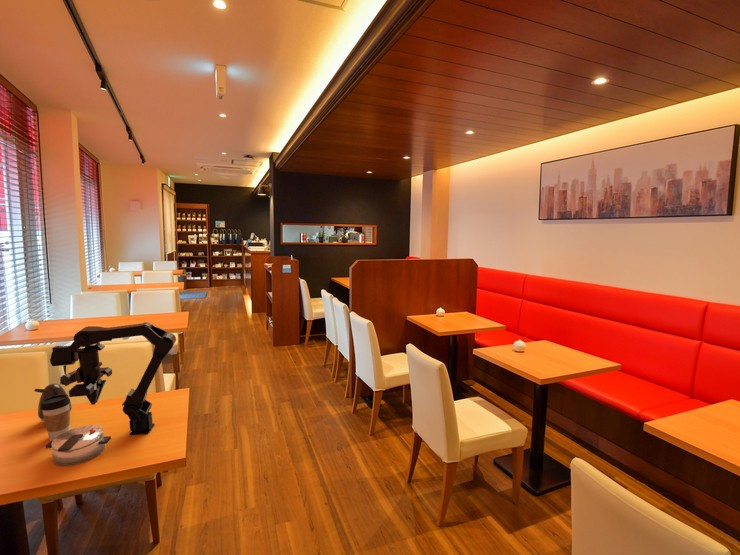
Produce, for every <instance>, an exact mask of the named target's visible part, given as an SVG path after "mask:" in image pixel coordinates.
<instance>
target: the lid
mask: <svg viewBox="0 0 740 555" xmlns="http://www.w3.org/2000/svg"><path fill="white" fill-rule="evenodd" d="M103 434H104V428H103V427H102V426H99V425H95V424H94V425H93V424H92V425H82V426H78V427H75V428H72V429H71V428H70V430H69V431H66V432H64V433H62V434H60V435H59V436H57V437H56V438H55V439H54V440H53V441H52V444H51V445H52V448H51V450H52V449H53V450H54V451H57V452H69V451H75V450H79V449H82V448H85V447H87V446H89V445H91V444H93V443H95V442H97V441H98V440H99V439H100V438H101V437H102V436H103ZM104 435H105V434H104Z"/></svg>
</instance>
